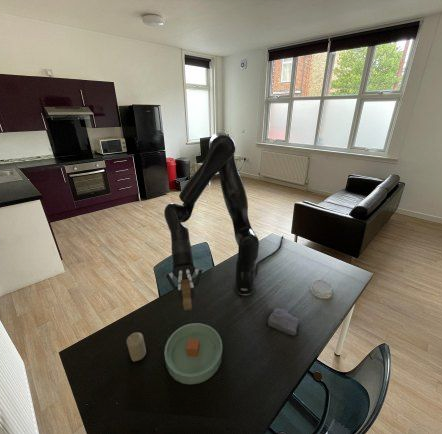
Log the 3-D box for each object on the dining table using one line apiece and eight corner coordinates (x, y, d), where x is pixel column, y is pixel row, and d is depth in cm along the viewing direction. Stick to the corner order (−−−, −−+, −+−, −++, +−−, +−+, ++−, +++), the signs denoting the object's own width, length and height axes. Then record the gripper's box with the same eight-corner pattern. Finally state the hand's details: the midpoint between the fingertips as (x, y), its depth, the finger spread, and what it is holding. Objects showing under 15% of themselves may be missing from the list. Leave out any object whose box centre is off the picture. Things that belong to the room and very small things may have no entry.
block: (189, 345, 90) (188, 338, 88) (199, 346, 90) (199, 339, 88) (186, 355, 86) (186, 348, 85) (197, 356, 86) (197, 349, 85)
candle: (137, 365, 84) (132, 346, 80) (127, 357, 87) (122, 338, 82) (149, 352, 88) (145, 334, 84) (139, 345, 91) (135, 327, 87)
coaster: (328, 285, 121) (329, 280, 120) (334, 300, 112) (336, 294, 111) (308, 284, 122) (309, 278, 121) (312, 298, 113) (314, 292, 112)
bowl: (185, 325, 99) (185, 316, 97) (230, 343, 92) (231, 334, 90) (153, 370, 83) (152, 361, 80) (205, 396, 75) (205, 387, 73)
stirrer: (183, 304, 91) (180, 279, 86) (191, 303, 91) (189, 278, 86) (183, 310, 88) (181, 285, 83) (192, 309, 89) (189, 284, 84)
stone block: (272, 313, 107) (266, 326, 99) (274, 304, 106) (268, 316, 97) (299, 324, 102) (294, 339, 94) (301, 315, 101) (297, 329, 92)
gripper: (162, 253, 86) (166, 303, 81) (200, 248, 89) (207, 296, 84) (163, 257, 93) (167, 303, 88) (199, 252, 96) (205, 297, 91)
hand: (187, 299), depth 86 cm, fingers closed on stirrer, 3 cm apart
